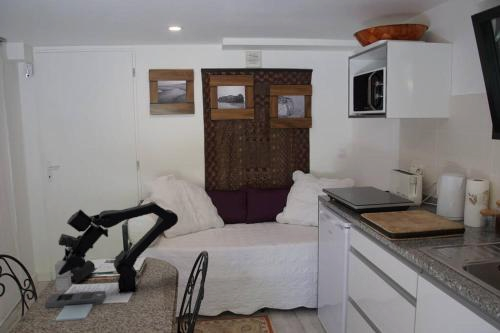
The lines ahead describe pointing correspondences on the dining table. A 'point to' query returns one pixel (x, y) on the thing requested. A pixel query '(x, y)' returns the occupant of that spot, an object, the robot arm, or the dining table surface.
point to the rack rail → (75, 299)
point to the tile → (74, 312)
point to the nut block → (62, 277)
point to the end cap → (82, 272)
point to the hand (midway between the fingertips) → (58, 271)
